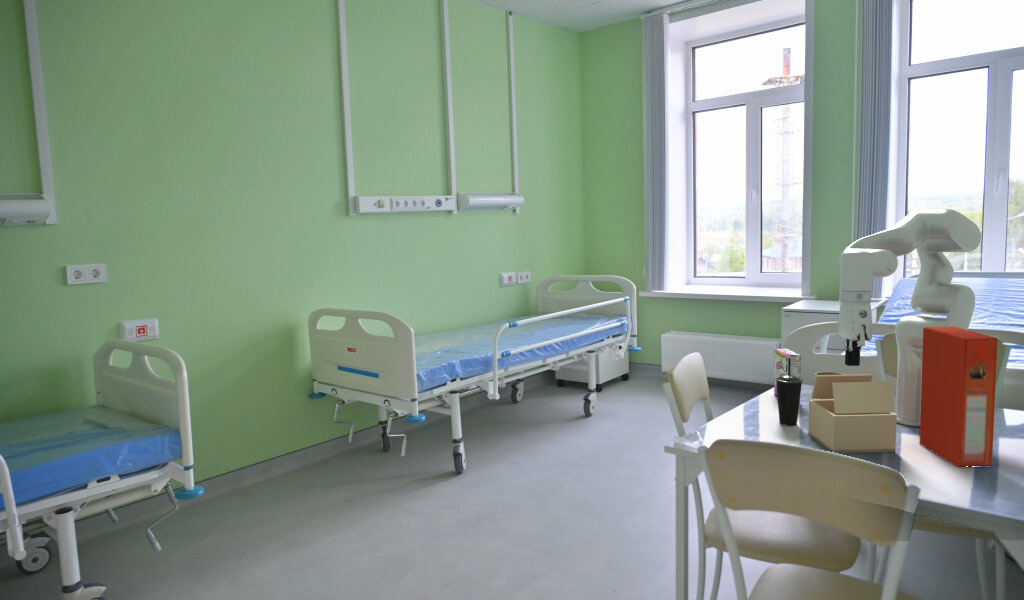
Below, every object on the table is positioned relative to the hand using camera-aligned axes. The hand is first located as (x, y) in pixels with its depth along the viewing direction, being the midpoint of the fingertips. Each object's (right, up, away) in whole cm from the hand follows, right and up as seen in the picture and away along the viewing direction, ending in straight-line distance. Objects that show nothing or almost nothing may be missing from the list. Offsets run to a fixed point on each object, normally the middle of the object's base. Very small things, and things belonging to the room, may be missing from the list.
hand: (852, 365), depth 180 cm
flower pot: (+16, -16, +46) cm, 51 cm away
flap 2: (0, -8, -4) cm, 9 cm away
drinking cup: (-8, -20, +22) cm, 31 cm away
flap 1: (+1, -7, +7) cm, 10 cm away
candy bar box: (+2, -16, +48) cm, 51 cm away
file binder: (+22, -23, -8) cm, 32 cm away
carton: (+1, -22, +3) cm, 22 cm away
